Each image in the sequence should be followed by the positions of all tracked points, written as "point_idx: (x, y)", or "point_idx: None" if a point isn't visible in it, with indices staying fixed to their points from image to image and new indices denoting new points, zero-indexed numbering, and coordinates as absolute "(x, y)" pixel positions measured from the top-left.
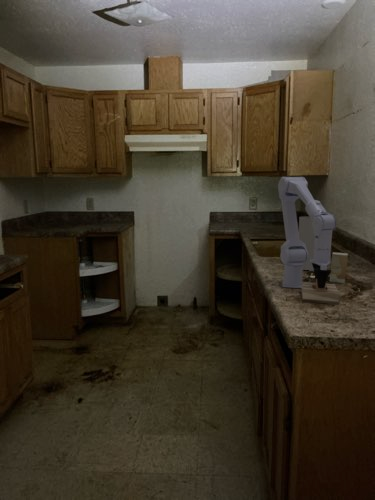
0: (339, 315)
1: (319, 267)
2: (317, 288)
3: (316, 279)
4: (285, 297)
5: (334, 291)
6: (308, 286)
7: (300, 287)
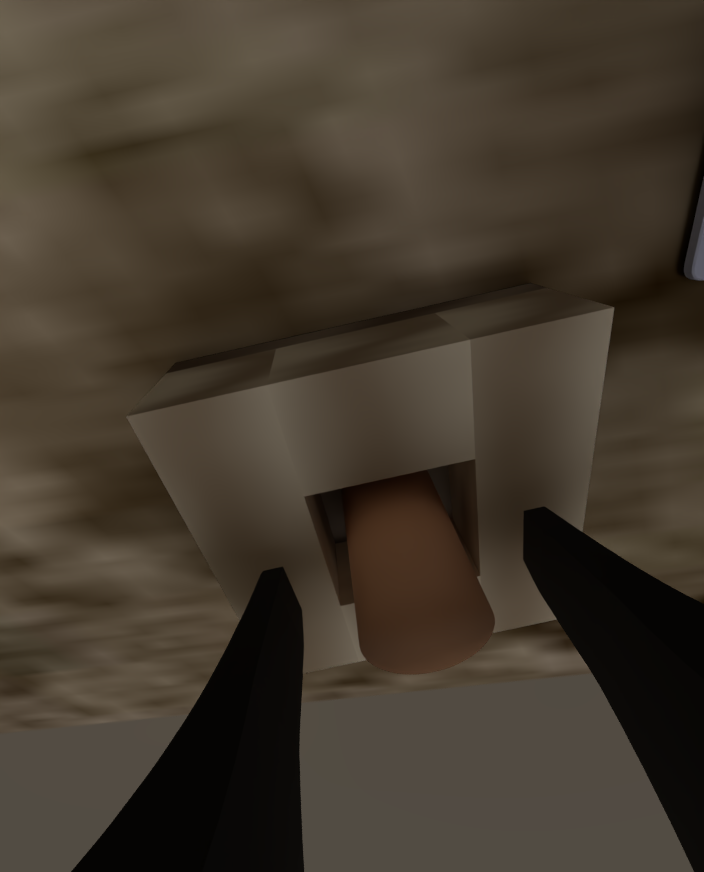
0: (33, 628)
1: (701, 779)
2: (357, 526)
3: (405, 596)
4: (217, 113)
5: (314, 649)
6: (394, 434)
7: (694, 248)
